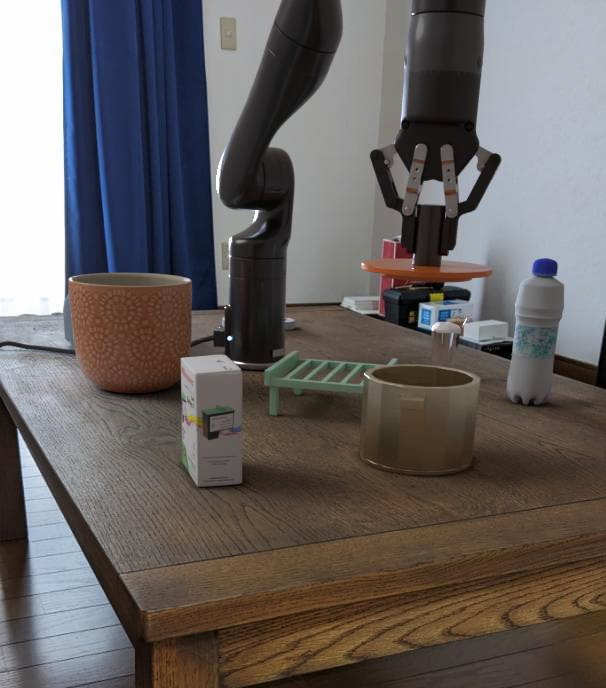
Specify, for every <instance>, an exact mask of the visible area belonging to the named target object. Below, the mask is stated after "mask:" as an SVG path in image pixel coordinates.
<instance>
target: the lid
mask: <svg viewBox="0 0 606 688" xmlns="http://www.w3.org/2000/svg"><path fill="white" fill-rule="evenodd" d="M444 218H446V207H445V204H436V203H435V204H434V203H418V204H417V209H416V227H415V239H414V252H413V254H412V258H373V259H366V260H363V261H361V263H360V265H361V267H360V268H361V269H362V270H363V271H366V272H370V273H375V274H379V276H381V277H383V278H387V279H393V280H399V281H409V282H419V283H420V282H421V283H463V282H465V283H466V282H470V281H473V279H481V278H487V277H491V276H492V275H493V268H492V267H491V266H488V265H484V264H481V263H480V264H479V263H472V262H465V261H456V260H445V259H444V260H443V259H442V257H443V256H441V255H440V253H441V242H442V231H443V220H444Z"/></svg>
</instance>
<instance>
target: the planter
mask: <svg viewBox="0 0 606 688" xmlns="http://www.w3.org/2000/svg"><path fill="white" fill-rule="evenodd" d="M67 285H68V286H67V287H68V291H69V299H70V309H71V320H72V330H73V339H74V346H75V352H76V355H75V356H76V357H75V358H76V360H77V361H76V362H77V364H78V366H79V370H80V371H81V372H82V374H83V375H84V377H86V379H87V380H88V381H90V382H91V383H92V384H94V385H95V386H96V387H98V388H100V389H102V390H105V391H107V392H113V393H123V394H146V393H155V392H160V391H164V390H166V389H168V388H171V387H172V386H173V385H175V384H176V383H177V382H179V380H181V358H185V357H191V349H192V348H191V342H192V327H193V326H192V324H193V320H192V319H193V317H192V316H193V315H192V314H193V282H192V280H191V278H188V277H184V276H180V275H173V274H164V273H151V272H150V273H149V272H99V273H87V274H79V275H73V276H70V277H69V278H68V279H67Z"/></svg>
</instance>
